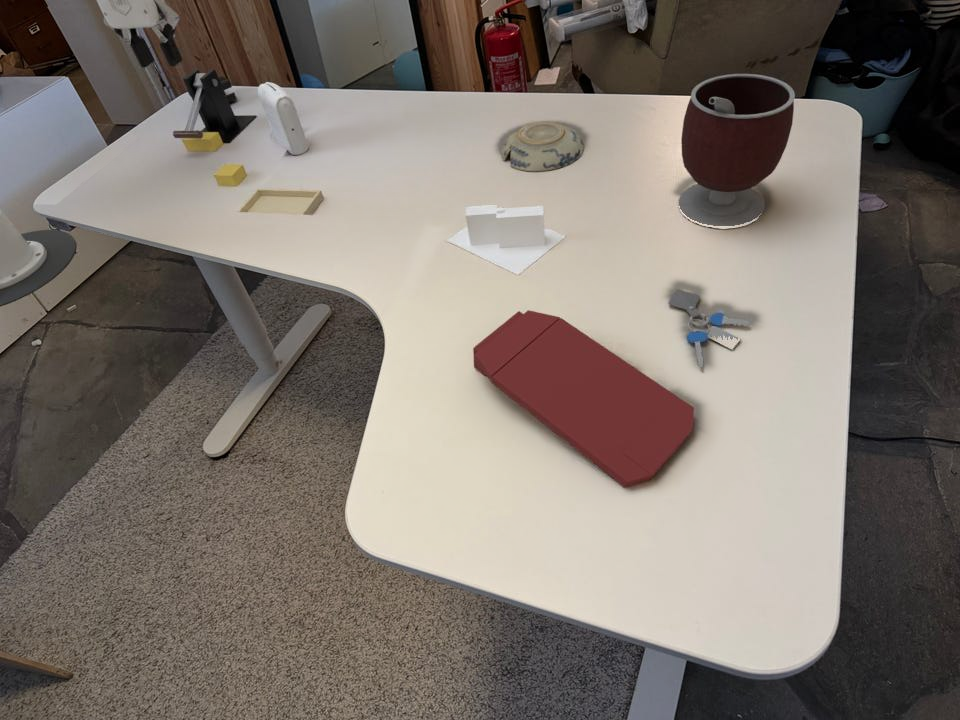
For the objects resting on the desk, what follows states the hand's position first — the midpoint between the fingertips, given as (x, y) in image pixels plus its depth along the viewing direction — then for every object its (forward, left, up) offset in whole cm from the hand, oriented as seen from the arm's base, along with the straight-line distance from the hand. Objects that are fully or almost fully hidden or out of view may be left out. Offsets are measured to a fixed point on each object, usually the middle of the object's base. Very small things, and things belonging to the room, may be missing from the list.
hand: (162, 63), depth 110 cm
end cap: (+25, +13, -20) cm, 34 cm away
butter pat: (-8, -11, -19) cm, 24 cm away
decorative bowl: (+6, -68, -20) cm, 71 cm away
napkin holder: (-21, -67, -20) cm, 73 cm away
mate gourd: (-11, -98, -20) cm, 101 cm away
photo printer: (+7, -16, -20) cm, 26 cm away
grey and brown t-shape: (+7, +3, -12) cm, 15 cm away
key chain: (-37, -97, -19) cm, 106 cm away
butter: (+4, +3, -19) cm, 20 cm away
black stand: (+12, +3, -19) cm, 23 cm away
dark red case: (-51, -82, -20) cm, 99 cm away
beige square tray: (-18, -25, -19) cm, 37 cm away
